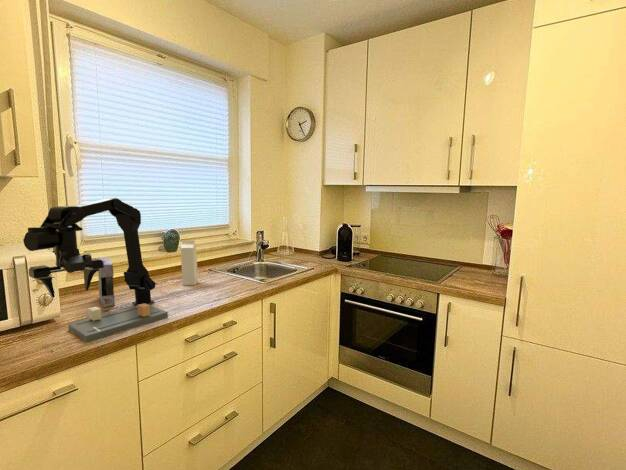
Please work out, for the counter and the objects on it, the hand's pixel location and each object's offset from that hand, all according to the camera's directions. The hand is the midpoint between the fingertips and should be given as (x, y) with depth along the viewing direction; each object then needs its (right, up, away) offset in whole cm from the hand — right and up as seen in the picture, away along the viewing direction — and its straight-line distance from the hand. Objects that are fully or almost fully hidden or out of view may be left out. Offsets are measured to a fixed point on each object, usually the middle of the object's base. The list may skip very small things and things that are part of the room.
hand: (70, 293), depth 107 cm
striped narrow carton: (-9, -9, +33) cm, 35 cm away
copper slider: (+18, -9, +11) cm, 23 cm away
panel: (+11, -12, +9) cm, 19 cm away
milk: (+16, -6, +60) cm, 63 cm away
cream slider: (+3, -10, +7) cm, 13 cm away
